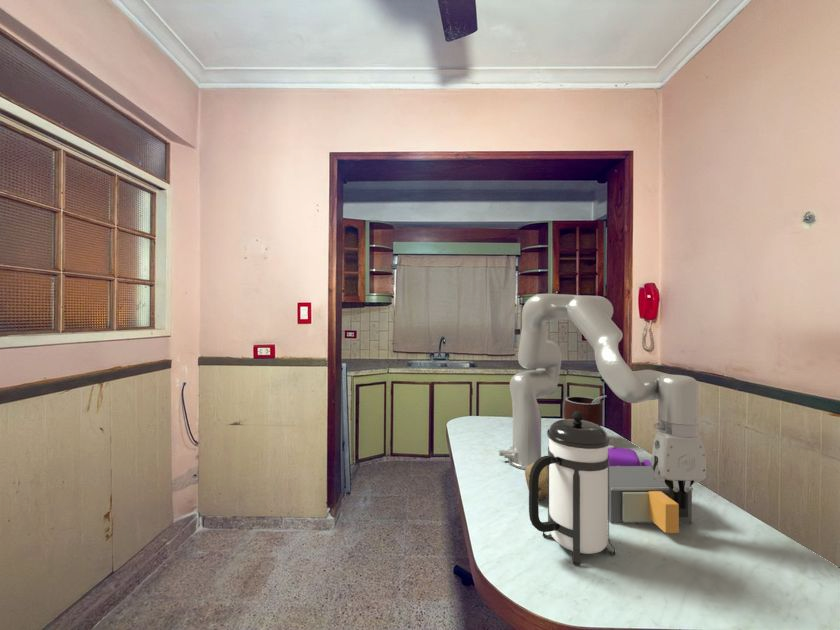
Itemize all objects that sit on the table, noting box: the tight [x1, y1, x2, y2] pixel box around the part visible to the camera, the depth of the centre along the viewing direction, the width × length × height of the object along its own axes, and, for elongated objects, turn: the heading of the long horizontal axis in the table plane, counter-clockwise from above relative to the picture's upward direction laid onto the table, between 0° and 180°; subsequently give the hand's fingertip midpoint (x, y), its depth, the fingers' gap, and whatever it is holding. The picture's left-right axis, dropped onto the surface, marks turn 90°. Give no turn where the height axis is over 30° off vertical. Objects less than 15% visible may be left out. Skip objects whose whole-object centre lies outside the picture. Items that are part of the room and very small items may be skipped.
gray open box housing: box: [609, 465, 694, 524], centre depth 94 cm, size 22×12×9 cm, turn 90°
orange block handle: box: [622, 491, 680, 534], centre depth 85 cm, size 9×7×8 cm
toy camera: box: [608, 444, 652, 466], centre depth 110 cm, size 11×14×10 cm
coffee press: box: [528, 411, 616, 566], centre depth 80 cm, size 17×16×30 cm
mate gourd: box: [563, 394, 607, 427], centre depth 144 cm, size 16×14×20 cm
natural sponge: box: [524, 462, 548, 500], centre depth 101 cm, size 9×9×10 cm
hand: (677, 505), depth 84 cm, fingers closed
